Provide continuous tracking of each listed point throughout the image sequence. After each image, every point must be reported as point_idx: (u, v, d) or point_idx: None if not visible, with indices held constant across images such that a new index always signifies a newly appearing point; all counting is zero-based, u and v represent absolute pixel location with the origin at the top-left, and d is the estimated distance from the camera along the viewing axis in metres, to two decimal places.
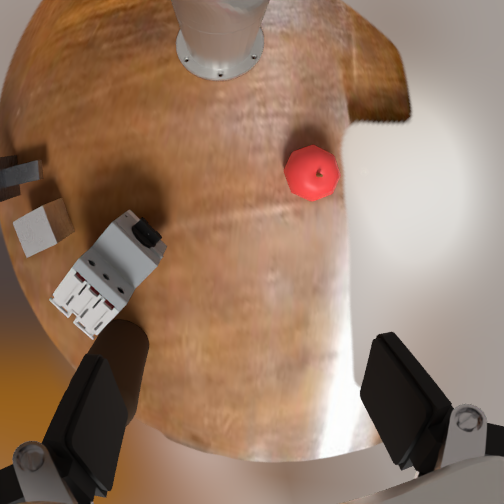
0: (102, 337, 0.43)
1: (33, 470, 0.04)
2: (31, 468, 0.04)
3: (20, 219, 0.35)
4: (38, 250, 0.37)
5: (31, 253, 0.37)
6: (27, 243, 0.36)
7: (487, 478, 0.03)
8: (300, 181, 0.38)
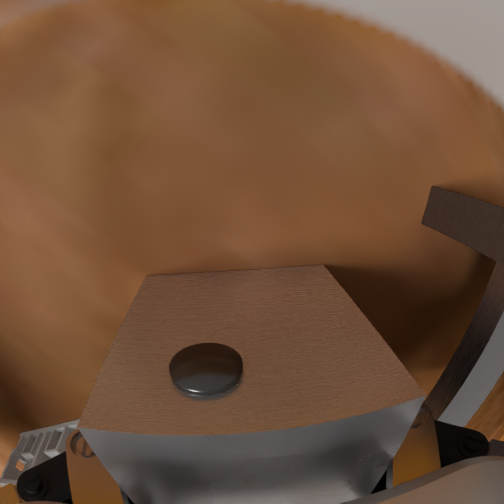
0: None
1: (86, 455, 0.05)
2: (84, 452, 0.05)
3: (388, 454, 0.05)
4: (139, 499, 0.05)
5: (117, 466, 0.04)
6: (202, 475, 0.04)
7: (487, 478, 0.03)
8: None
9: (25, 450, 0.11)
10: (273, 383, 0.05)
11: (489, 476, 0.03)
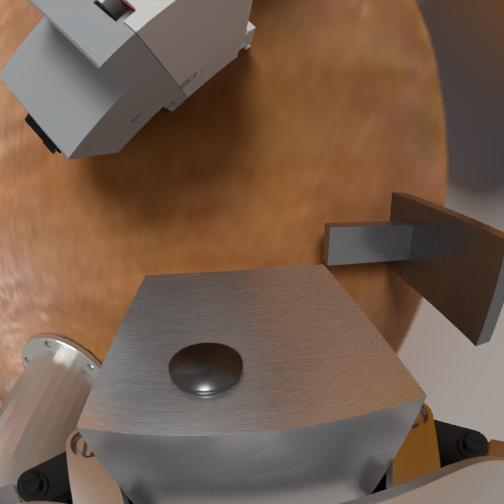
0: None
1: (86, 455, 0.05)
2: (84, 452, 0.05)
3: (389, 455, 0.05)
4: (139, 500, 0.05)
5: (116, 467, 0.04)
6: (202, 475, 0.04)
7: (487, 478, 0.03)
8: None
9: None
10: (273, 383, 0.05)
11: (489, 476, 0.03)
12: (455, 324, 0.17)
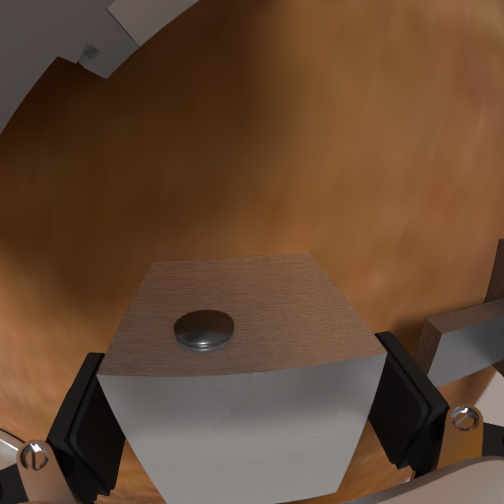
0: None
1: (37, 468, 0.04)
2: (34, 466, 0.04)
3: (362, 411, 0.06)
4: (143, 454, 0.06)
5: (127, 415, 0.06)
6: (199, 420, 0.06)
7: (487, 478, 0.03)
8: None
9: None
10: (258, 339, 0.06)
11: (489, 476, 0.03)
12: None
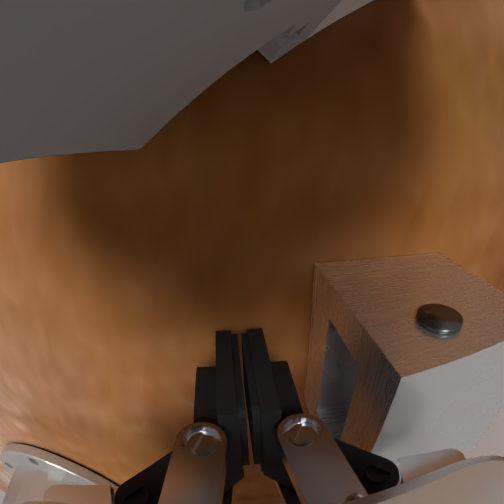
0: None
1: (196, 451, 0.06)
2: (194, 447, 0.06)
3: None
4: (377, 453, 0.06)
5: (398, 413, 0.06)
6: (448, 397, 0.06)
7: (487, 478, 0.03)
8: None
9: None
10: (478, 321, 0.06)
11: (489, 476, 0.03)
12: None
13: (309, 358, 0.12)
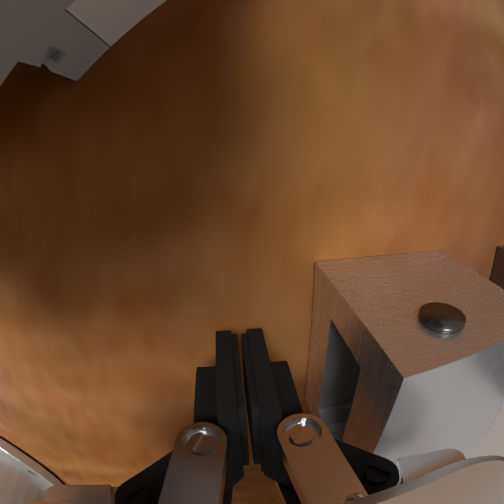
0: None
1: (196, 451, 0.06)
2: (194, 447, 0.06)
3: None
4: (379, 454, 0.06)
5: (400, 414, 0.05)
6: (451, 397, 0.06)
7: (487, 478, 0.03)
8: None
9: None
10: (480, 320, 0.06)
11: (489, 476, 0.03)
12: None
13: (310, 357, 0.12)
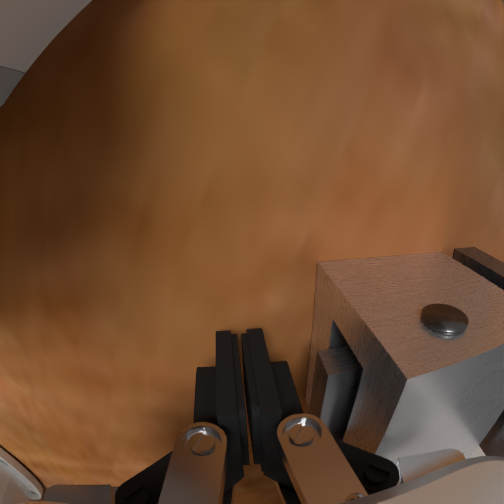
0: None
1: (196, 451, 0.06)
2: (194, 447, 0.06)
3: None
4: (380, 455, 0.06)
5: (403, 415, 0.05)
6: (453, 399, 0.06)
7: (487, 478, 0.03)
8: None
9: None
10: (483, 322, 0.06)
11: (489, 476, 0.03)
12: None
13: (311, 358, 0.12)
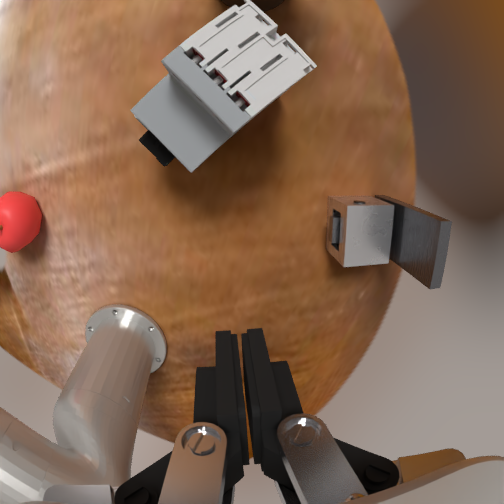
0: None
1: (196, 451, 0.06)
2: (194, 447, 0.06)
3: (391, 221, 0.32)
4: (348, 232, 0.32)
5: (349, 217, 0.31)
6: (363, 217, 0.32)
7: (487, 478, 0.03)
8: (11, 219, 0.27)
9: None
10: (370, 203, 0.32)
11: (489, 476, 0.03)
12: (416, 278, 0.29)
13: (327, 229, 0.38)
